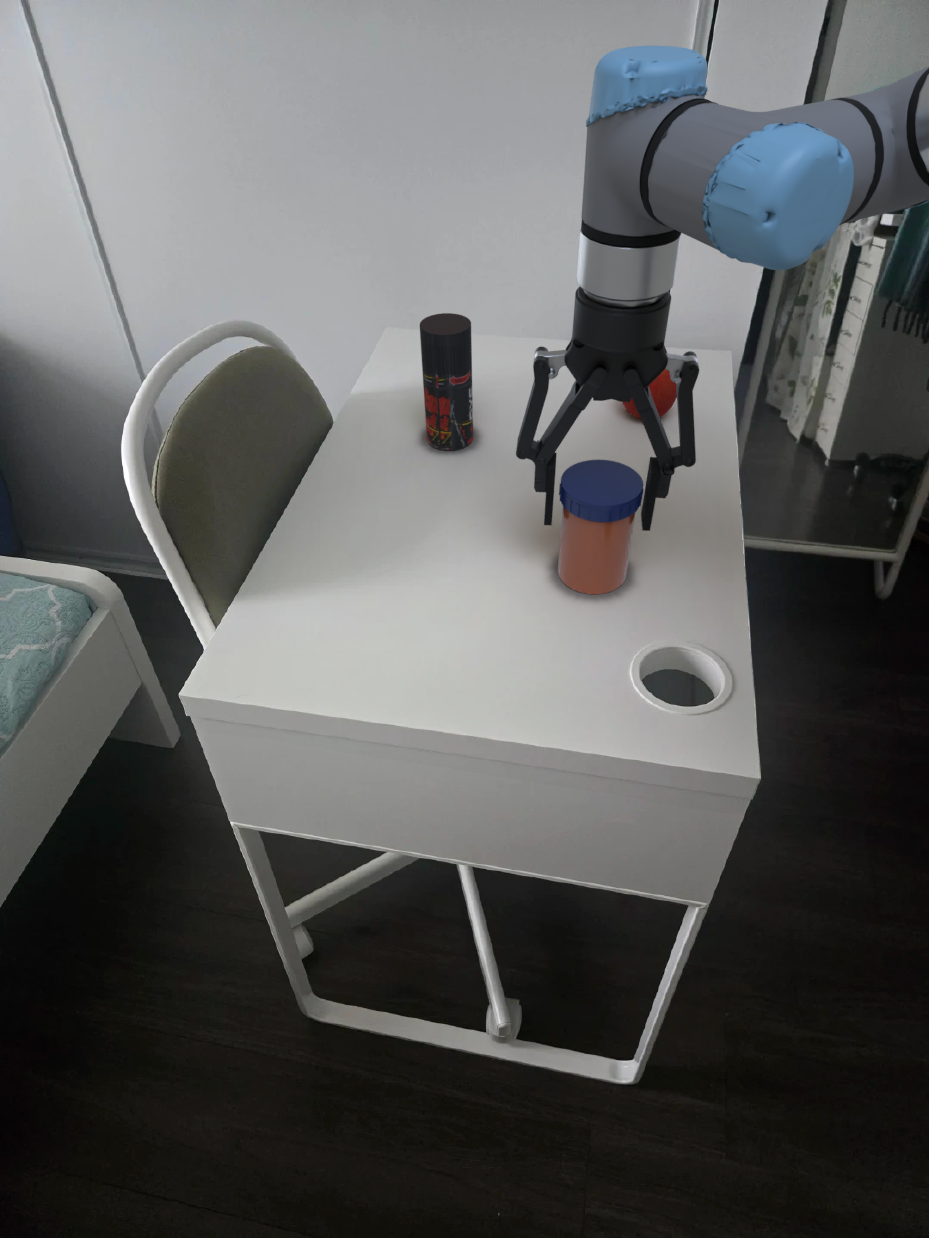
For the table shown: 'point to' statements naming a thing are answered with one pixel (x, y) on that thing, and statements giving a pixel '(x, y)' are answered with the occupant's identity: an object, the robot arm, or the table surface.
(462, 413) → the deodorant
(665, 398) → the apple
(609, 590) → the jam jar
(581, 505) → the jar lid
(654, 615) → the table surface
